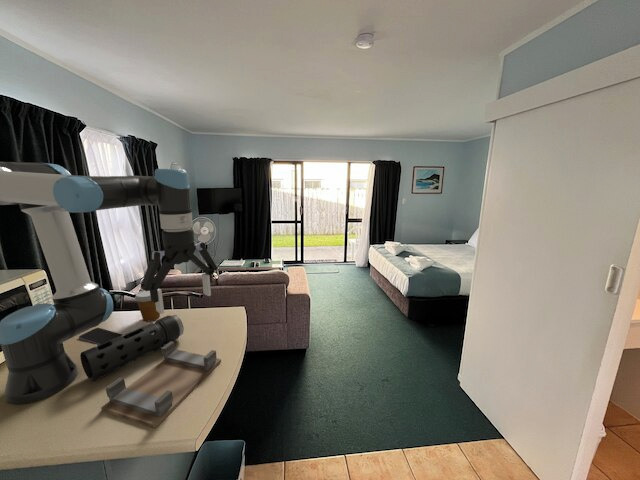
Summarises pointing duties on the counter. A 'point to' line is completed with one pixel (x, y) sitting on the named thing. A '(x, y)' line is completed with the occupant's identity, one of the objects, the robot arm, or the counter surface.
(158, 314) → the disposable coffee cup
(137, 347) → the muzzle brake
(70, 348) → the counter surface
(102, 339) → the smartphone
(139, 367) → the counter surface
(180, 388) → the mounting board
